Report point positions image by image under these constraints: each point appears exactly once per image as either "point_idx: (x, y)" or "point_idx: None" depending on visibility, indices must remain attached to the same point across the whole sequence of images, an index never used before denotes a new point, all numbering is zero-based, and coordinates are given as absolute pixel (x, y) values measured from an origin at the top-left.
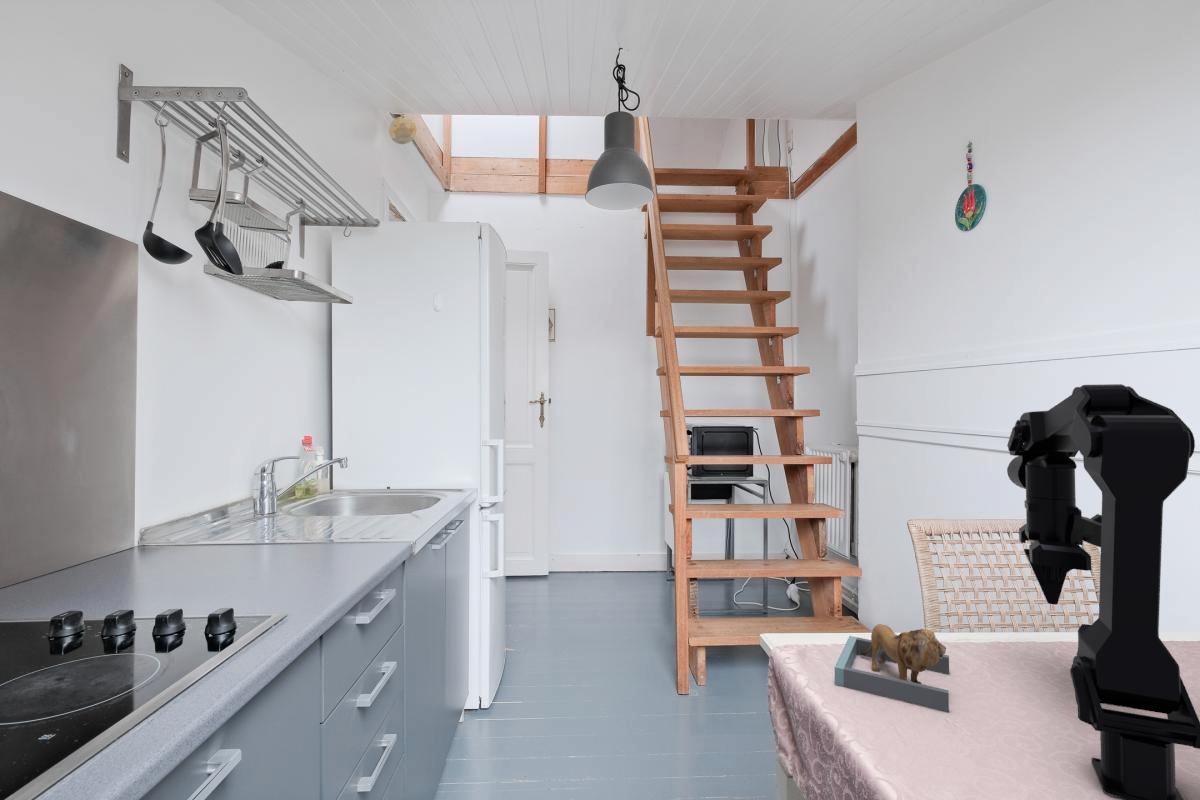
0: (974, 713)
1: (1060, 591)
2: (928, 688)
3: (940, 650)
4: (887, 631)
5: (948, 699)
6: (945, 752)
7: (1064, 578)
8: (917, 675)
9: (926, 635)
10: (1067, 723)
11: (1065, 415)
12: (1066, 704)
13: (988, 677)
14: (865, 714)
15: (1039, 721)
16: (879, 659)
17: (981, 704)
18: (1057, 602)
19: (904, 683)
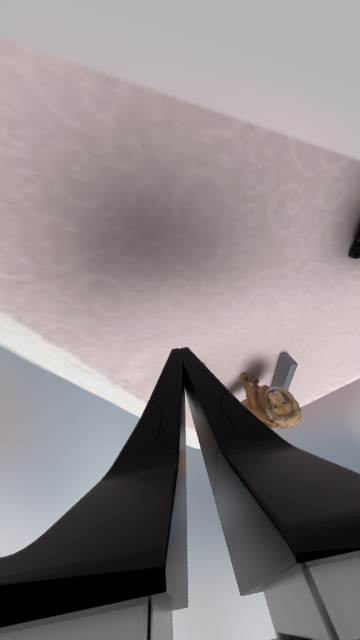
0: (280, 338)
1: (210, 371)
2: (292, 375)
3: (282, 396)
4: None
5: (293, 360)
6: (349, 345)
7: (250, 412)
8: (247, 382)
9: (300, 419)
10: (269, 272)
11: None
12: (218, 271)
13: (187, 337)
14: (308, 386)
15: (275, 295)
16: None
17: (259, 336)
18: (189, 350)
19: (288, 387)
